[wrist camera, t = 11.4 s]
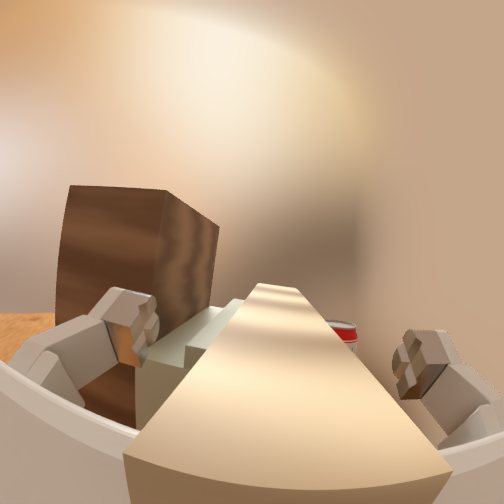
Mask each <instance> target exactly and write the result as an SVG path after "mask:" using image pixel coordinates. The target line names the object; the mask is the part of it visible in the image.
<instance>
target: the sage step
mask: <svg viewBox="0 0 504 504" xmlns="http://www.w3.org/2000/svg"><path fill="white" fill-rule="evenodd" d="M244 301H245V300H239V299H233V300H232V301H231V302H230V303H229V304H228V305H227V306H226V307H225V308H219V307H212V306H208V307H207V308H205V309H204V310H202V311H201V312H199V313H198V314H197V315H195V316H194V317H192V318H191V319H189V320H188V321H186V322H185V323H183V324H182V325H181V326H179V327H178V328H176V329H175V330H173V331H172V332H170V333H169V334H167V335H166V336H164V337H163V338H161V339H160V340H158V341H157V342H155V343H154V344H153V345H151V346H150V347H148V352H149V354H148V356H147V358H146V360H145V362H144V364H143V366H142V368H139V367H135V409H136V430H139V431H141V430H142V429H143V428H144V427H145V425H146V424H147V423H148V422H149V421H150V419H151V418H152V417H153V416H154V415H155V413H156V412H157V411H158V410H159V408H160V407H161V406H162V405H163V404H164V402H165V401H166V400H167V399H168V397H169V396H170V395H171V394H172V393H173V391H174V390H175V389H176V388H177V386H178V385H179V384H180V383H181V381H182V380H183V379H184V378H185V376H186V375H187V374H188V373H189V371H190V370H191V369H192V368H193V366H194V365H195V364H196V363H197V361H198V360H199V359H200V358H201V356H202V355H203V354H204V353H205V351H206V350H207V349H208V348H209V346H210V345H211V344H212V342H213V341H214V340H215V339H216V337H217V336H218V335H219V334H220V332H221V331H222V330H223V328H224V327H225V326H226V325H227V323H228V322H229V321H230V319H231V318H232V317H233V316H234V314H235V313H236V312H237V310H238V309H239V308H240V306H241V305H242V304H243V303H244Z"/></svg>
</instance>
